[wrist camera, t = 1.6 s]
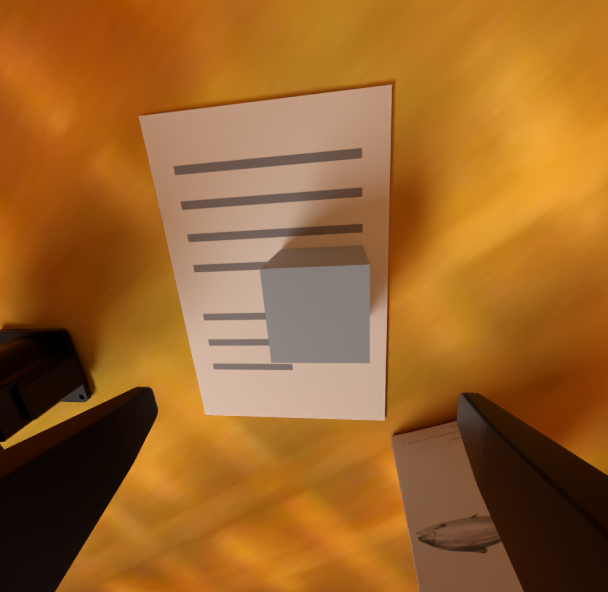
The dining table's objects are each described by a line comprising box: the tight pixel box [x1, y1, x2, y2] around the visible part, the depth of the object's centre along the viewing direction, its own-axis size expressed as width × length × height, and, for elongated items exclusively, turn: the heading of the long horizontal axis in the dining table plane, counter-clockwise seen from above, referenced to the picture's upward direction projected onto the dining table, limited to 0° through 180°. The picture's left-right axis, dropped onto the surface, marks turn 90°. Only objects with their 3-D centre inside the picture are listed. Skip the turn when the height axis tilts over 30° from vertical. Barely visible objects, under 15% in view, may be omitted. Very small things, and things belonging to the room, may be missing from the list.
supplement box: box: [391, 421, 524, 592], centre depth 16 cm, size 7×7×13 cm
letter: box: [139, 85, 392, 421], centre depth 19 cm, size 14×21×1 cm, turn 4°
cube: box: [260, 245, 370, 363], centre depth 16 cm, size 5×5×5 cm
